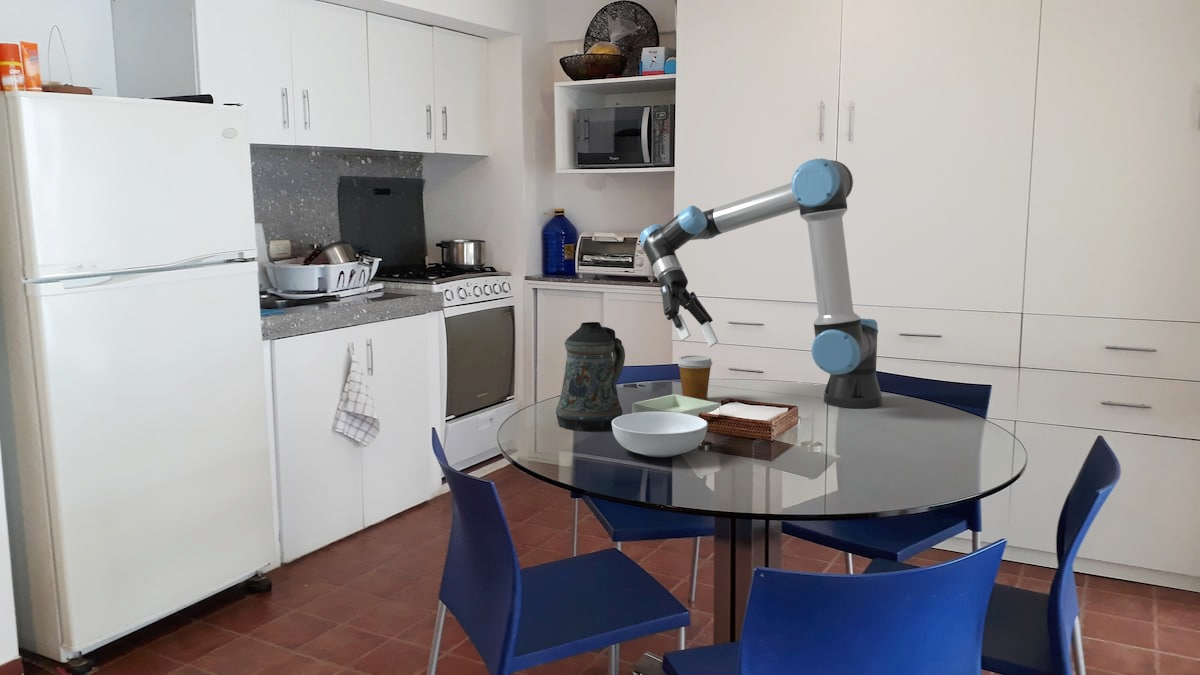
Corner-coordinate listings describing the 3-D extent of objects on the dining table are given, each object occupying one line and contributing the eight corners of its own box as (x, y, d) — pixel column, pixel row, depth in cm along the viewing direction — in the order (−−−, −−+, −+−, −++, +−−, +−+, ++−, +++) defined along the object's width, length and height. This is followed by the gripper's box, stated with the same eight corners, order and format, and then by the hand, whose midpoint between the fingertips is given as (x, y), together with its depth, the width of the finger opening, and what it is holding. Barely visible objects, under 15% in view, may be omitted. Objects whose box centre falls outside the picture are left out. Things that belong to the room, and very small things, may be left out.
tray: (719, 416, 226) (719, 403, 226) (676, 427, 216) (676, 413, 216) (674, 406, 238) (674, 394, 237) (632, 416, 228) (632, 403, 227)
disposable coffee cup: (711, 397, 249) (712, 355, 247) (712, 405, 240) (712, 361, 238) (677, 397, 250) (677, 355, 248) (677, 404, 241) (677, 360, 239)
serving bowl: (719, 462, 187) (719, 430, 186) (621, 468, 183) (621, 435, 182) (693, 437, 207) (693, 408, 206) (604, 442, 204) (604, 413, 203)
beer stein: (547, 429, 216) (544, 327, 212) (571, 411, 234) (569, 317, 230) (613, 433, 211) (612, 329, 208) (632, 414, 230) (631, 318, 226)
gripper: (685, 290, 257) (714, 353, 248) (633, 275, 237) (662, 342, 229) (705, 276, 253) (735, 339, 244) (654, 259, 234) (684, 327, 225)
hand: (700, 341), depth 236 cm, fingers open, 13 cm apart
